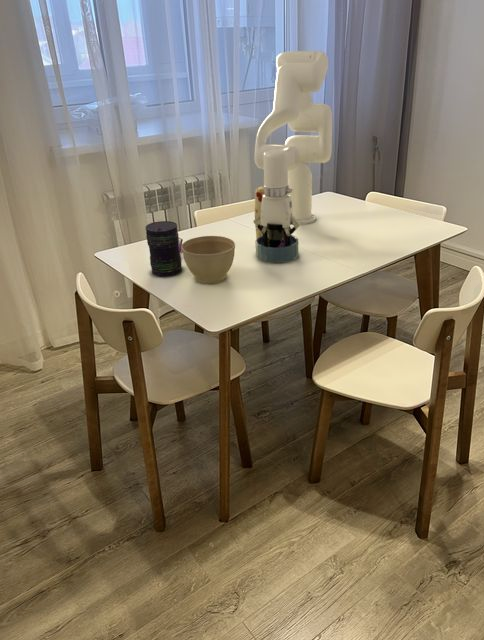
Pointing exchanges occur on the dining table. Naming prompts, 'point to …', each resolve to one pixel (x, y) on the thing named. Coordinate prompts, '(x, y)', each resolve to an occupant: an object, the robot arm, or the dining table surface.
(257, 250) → the basin
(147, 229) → the storage jar
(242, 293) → the dining table surface
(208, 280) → the planter bowl
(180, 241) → the pink toy figurine
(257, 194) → the food model
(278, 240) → the supplement container
